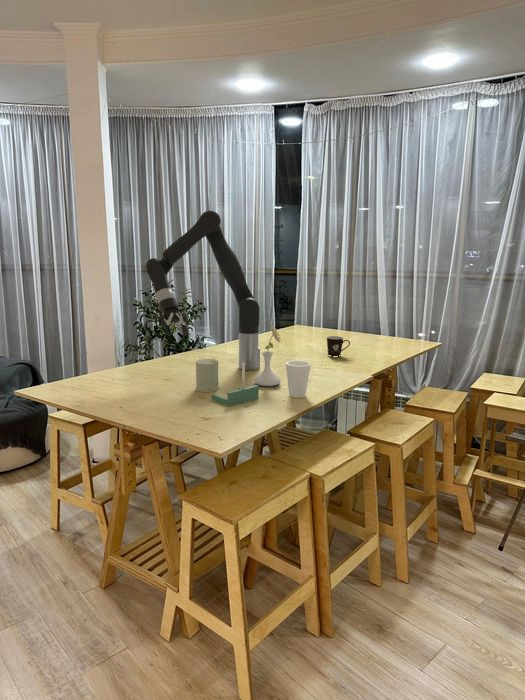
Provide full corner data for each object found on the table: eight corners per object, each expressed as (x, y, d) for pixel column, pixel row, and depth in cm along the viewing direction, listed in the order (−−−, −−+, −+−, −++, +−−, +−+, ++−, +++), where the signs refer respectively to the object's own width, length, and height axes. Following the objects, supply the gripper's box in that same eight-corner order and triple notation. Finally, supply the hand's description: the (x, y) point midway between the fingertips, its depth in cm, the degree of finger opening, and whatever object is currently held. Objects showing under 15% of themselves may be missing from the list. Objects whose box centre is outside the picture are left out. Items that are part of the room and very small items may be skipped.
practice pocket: (211, 399, 188) (211, 361, 185) (240, 392, 198) (240, 355, 195) (229, 406, 181) (229, 366, 178) (258, 398, 191) (258, 360, 187)
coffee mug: (324, 357, 260) (324, 338, 258) (328, 353, 268) (329, 335, 266) (346, 359, 256) (347, 340, 254) (349, 355, 264) (350, 337, 261)
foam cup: (292, 400, 189) (293, 367, 186) (280, 393, 197) (281, 362, 194) (314, 397, 193) (315, 364, 190) (301, 390, 201) (302, 359, 198)
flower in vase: (271, 390, 201) (272, 329, 196) (248, 385, 207) (248, 326, 202) (287, 382, 212) (288, 324, 207) (264, 378, 218) (265, 322, 213)
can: (214, 393, 197) (214, 363, 194) (192, 391, 198) (192, 362, 196) (221, 386, 205) (221, 358, 203) (200, 385, 207) (199, 356, 205)
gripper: (158, 295, 205) (169, 330, 201) (185, 297, 216) (196, 330, 211) (148, 304, 210) (159, 339, 205) (175, 306, 221) (186, 338, 216)
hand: (178, 334), depth 208 cm, fingers open, 8 cm apart
